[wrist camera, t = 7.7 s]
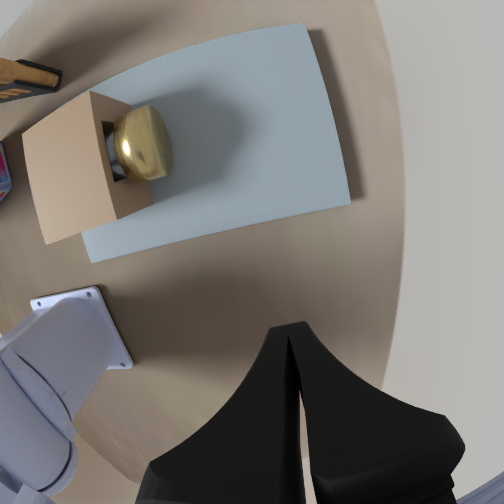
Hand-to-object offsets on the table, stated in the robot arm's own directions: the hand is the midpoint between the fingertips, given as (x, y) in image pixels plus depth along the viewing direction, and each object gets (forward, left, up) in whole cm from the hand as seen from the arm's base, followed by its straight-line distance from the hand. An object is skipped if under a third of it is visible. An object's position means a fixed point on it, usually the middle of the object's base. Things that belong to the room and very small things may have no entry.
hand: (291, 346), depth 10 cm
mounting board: (-4, +9, -9) cm, 14 cm away
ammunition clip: (-18, +20, -10) cm, 29 cm away
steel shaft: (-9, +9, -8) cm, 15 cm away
